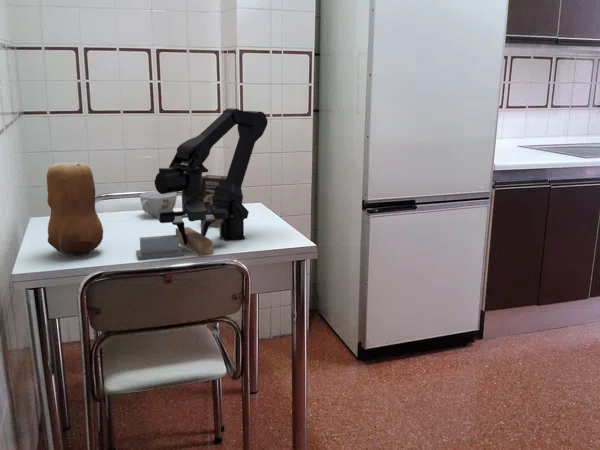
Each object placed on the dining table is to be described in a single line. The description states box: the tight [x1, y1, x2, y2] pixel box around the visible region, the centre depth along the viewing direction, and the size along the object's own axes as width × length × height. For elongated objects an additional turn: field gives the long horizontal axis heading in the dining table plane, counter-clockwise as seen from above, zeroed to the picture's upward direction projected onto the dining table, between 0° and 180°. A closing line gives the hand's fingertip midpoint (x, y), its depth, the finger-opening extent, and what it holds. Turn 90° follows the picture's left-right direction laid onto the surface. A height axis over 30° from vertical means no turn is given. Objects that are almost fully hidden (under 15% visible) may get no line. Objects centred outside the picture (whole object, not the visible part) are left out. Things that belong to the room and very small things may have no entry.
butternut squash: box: [46, 161, 104, 257], centre depth 152 cm, size 14×13×25 cm
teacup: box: [139, 191, 178, 218], centre depth 198 cm, size 15×12×8 cm
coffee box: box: [202, 174, 227, 228], centre depth 187 cm, size 9×6×16 cm
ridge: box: [135, 234, 185, 261], centre depth 154 cm, size 12×6×5 cm, turn 111°
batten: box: [175, 226, 214, 257], centre depth 162 cm, size 4×18×4 cm, turn 32°
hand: (193, 243), depth 163 cm, fingers open, 4 cm apart
